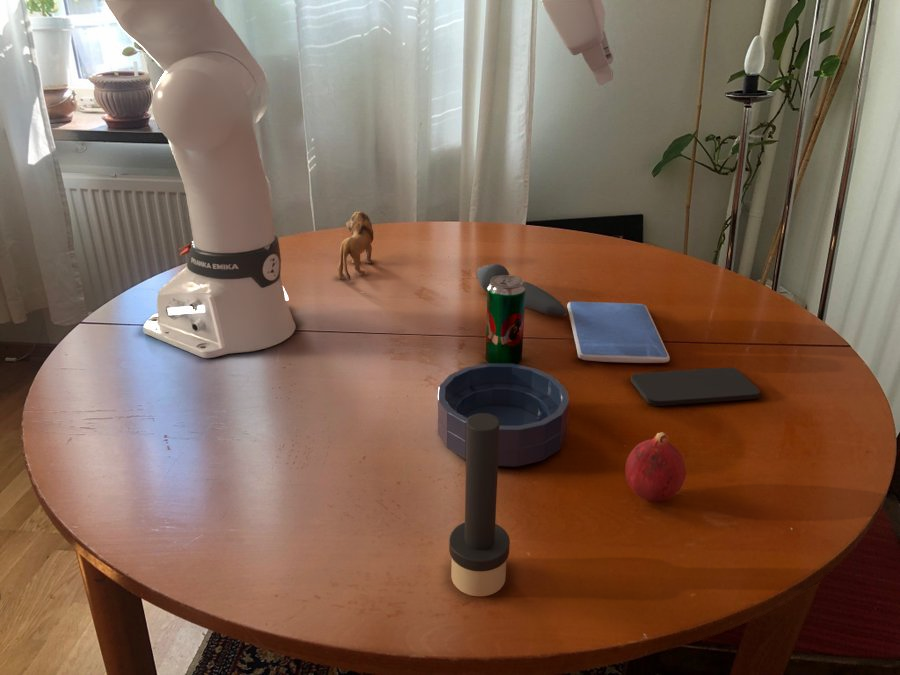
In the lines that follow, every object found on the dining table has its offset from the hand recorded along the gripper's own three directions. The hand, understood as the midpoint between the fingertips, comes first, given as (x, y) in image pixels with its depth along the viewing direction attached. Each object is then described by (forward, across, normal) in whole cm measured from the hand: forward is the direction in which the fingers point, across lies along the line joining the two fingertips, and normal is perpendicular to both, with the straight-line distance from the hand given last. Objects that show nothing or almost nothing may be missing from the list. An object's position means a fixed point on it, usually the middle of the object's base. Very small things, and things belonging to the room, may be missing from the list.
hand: (607, 72), depth 85 cm
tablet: (+36, -6, -14) cm, 40 cm away
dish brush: (+26, +46, -23) cm, 57 cm away
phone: (+40, +8, -5) cm, 41 cm away
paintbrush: (+30, -16, -28) cm, 44 cm away
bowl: (+28, +23, -24) cm, 44 cm away
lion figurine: (+16, -25, -55) cm, 63 cm away
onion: (+35, +32, -10) cm, 48 cm away
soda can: (+28, +5, -27) cm, 39 cm away
